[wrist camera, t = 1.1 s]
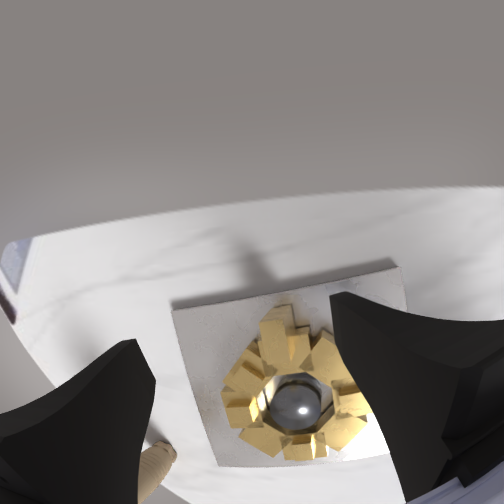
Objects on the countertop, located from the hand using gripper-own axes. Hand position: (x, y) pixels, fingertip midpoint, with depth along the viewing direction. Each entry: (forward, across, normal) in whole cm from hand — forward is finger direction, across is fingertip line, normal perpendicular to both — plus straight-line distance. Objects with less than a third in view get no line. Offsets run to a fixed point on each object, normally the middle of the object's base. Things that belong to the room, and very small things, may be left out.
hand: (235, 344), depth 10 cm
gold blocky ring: (+10, -2, +12) cm, 16 cm away
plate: (+11, -3, +13) cm, 17 cm away
